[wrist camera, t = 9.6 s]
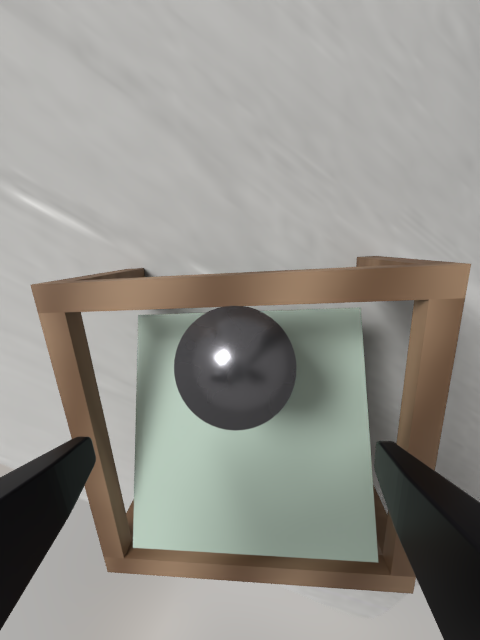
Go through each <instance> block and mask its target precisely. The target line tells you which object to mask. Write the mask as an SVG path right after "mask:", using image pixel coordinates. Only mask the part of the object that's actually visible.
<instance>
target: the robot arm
mask: <svg viewBox="0 0 480 640" xmlns="http://www.w3.org/2000/svg"><path fill="white" fill-rule="evenodd" d="M95 462H96V455H95V450H94V446H93V442H92V439H91V438H90V437H82V436H79V437H75V438H73V439H71V440H70V441H68V442H66V443H64V444H62V445H60V446H58V447H57V448H55V449H53V450H51V451H49V452H47V453H45V454H43V455H42V456H40V457H38V458H36V459H34V460H32V461H30V462H28V463H27V464H25V465H23V466H21V467H19V468H17V469H15V470H14V471H12V472H10V473H8V474H6V475H4V476H2V477H0V630H1V628H2V627H3V625H4V623H5V622H6V620H7V618H8V616H9V615H10V613H11V612H12V610H13V608H14V607H15V605H16V603H17V602H18V600H19V599H20V597H21V595H22V594H23V592H24V590H25V589H26V587H27V585H28V584H29V582H30V580H31V579H32V577H33V575H34V574H35V572H36V570H37V569H38V567H39V565H40V564H41V562H42V560H43V559H44V557H45V555H46V554H47V552H48V550H49V549H50V547H51V545H52V544H53V542H54V540H55V539H56V537H57V535H58V533H59V532H60V530H61V529H62V527H63V525H64V524H65V522H66V520H67V519H68V517H69V515H70V513H71V511H72V509H73V507H74V505H75V503H76V502H77V500H78V498H79V496H80V494H81V492H82V490H83V488H84V486H85V483H86V481H87V479H88V477H89V475H90V473H91V471H92V469H93V467H94V465H95ZM374 466H375V472H376V475H377V478H378V481H379V484H380V487H381V490H382V493H383V496H384V498H385V501H386V504H387V507H388V510H389V513H390V516H391V519H392V522H393V525H394V527H395V530H396V533H397V535H398V537H399V540H400V542H401V544H402V547H403V549H404V551H405V553H406V556H407V558H408V560H409V562H410V565H411V567H412V569H413V571H414V574H415V576H416V578H417V580H418V582H419V585H420V587H421V589H422V591H423V594H424V596H425V598H426V600H427V603H428V605H429V607H430V609H431V611H432V614H433V616H434V618H435V621H436V623H437V625H438V627H439V629H440V632H441V634H442V636H443V638H444V640H480V502H478V501H477V500H475V499H474V498H473V497H471V496H470V495H468V494H467V493H465V492H464V491H463V490H461V489H460V488H458V487H457V486H455V485H454V484H453V483H451V482H450V481H448V480H447V479H446V478H444V477H443V476H441V475H440V474H438V473H437V472H436V471H434V470H433V469H431V468H430V467H428V466H427V465H426V464H424V463H423V462H421V461H420V460H418V459H417V458H416V457H414V456H413V455H411V454H410V453H409V452H407V451H406V450H404V449H403V448H401V447H400V446H399V445H397V444H396V443H394V442H392V441H379V442H377V444H376V452H375V462H374Z"/></svg>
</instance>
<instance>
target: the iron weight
mask: <svg viewBox="0 0 480 640" xmlns="http://www.w3.org/2000/svg"><path fill="white" fill-rule="evenodd" d="M296 369H297V365H296V357H295V353H294V349H293V346H292V344H291V341H290V340H289V338H288V336H287V334H286V333H285V331H284V330H283V329H282V328H281V326H280V325H279V324H278V323H277V322H276V321H274V320H273V319H272V318H271V317H269V316H268V315H266V314H264V313H263V312H260V311H258V310H256V309H253V308H249V307H244V306H225V307H220V308H217V309H214V310H211V311H209V312H207V313H205V314H203V315H202V316H200V317H199V318H198V319H196V320H195V321H194V322H193V323H192V324H191V325H190V326H189V327H188V329H187V330H186V331H185V333H184V334H183V336H182V338H181V340H180V342H179V344H178V347H177V350H176V354H175V359H174V376H175V381H176V385H177V388H178V391H179V393H180V395H181V398H182V399H183V401H184V402H185V404H186V406H187V407H188V408H189V409H190V410H191V411H192V412H193V413H194V414H195V415H196V416H197V417H198V418H200V419H201V420H203V421H204V422H206V423H208V424H210V425H212V426H214V427H217V428H220V429H225V430H234V431H237V430H246V429H251V428H254V427H257V426H260V425H262V424H264V423H266V422H267V421H269V420H270V419H272V418H273V417H274V416H275V415H277V414H278V413H279V412H280V411H281V409H282V408H283V407H284V406H285V404H286V403H287V401H288V400H289V398H290V396H291V393H292V391H293V388H294V385H295V380H296Z"/></svg>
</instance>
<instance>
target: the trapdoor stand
mask: <svg viewBox="0 0 480 640" xmlns="http://www.w3.org/2000/svg"><path fill="white" fill-rule="evenodd" d="M470 267H471V264H466V263H454V262H442V261H430V260H418V259H406V258H394V257H382V256H369V257H357V265H356V267H347V268H326V269H306V270H285V271H264V272H243V273H223V274H202V275H181V276H161V277H145V274H144V268H138V269H124V270H118V271H112V272H106V273H100V274H94V275H88V276H82V277H75V278H69V279H63V280H57V281H51V282H45V283H39V284H33V285H31V289H32V292H33V296H34V300H35V303H36V307H37V311H38V315H39V318H40V322H41V326H42V329H43V333H44V337H45V341H46V344H47V348H48V352H49V355H50V359H51V363H52V367H53V370H54V374H55V378H56V381H57V385H58V389H59V393H60V396H61V400H62V404H63V407H64V411H65V415H66V419H67V422H68V426H69V430H70V433H71V437H72V439H73V438H75V437H79V436H82V437H90V438H91V439H92V442H93V446H94V450H95V455H96V462H95V465H94V467H93V469H92V471H91V473H90V475H89V477H88V479H87V481H86V483H85V489H86V493H87V497H88V500H89V504H90V508H91V511H92V515H93V518H94V522H95V526H96V530H97V534H98V537H99V541H100V545H101V549H102V552H103V556H104V560H105V563H106V566H107V571H108V572H115V573H130V574H143V575H157V576H172V577H186V578H200V579H214V580H228V581H242V582H257V583H271V584H285V585H299V586H313V587H328V588H342V589H356V590H370V591H384V592H398V593H413V590H414V585H415V579H416V576H415V574H414V571H413V569H412V567H411V565H410V562H409V560H408V558H407V556H406V553H405V551H404V549H403V547H402V544H401V542H400V540H399V537H398V535H397V533H396V530H395V527H394V525H393V522H392V519H391V516H390V513H389V510H388V515H387V513H386V511H385V509H384V507H383V505H382V502H381V500H380V498H379V496H378V494H377V492H376V489H375V487H374V485H373V492H374V506H375V521H376V535H377V549H378V562H363V561H346V560H329V559H313V558H296V557H279V556H263V555H246V554H229V553H213V552H196V551H180V550H163V549H146V548H133V519H134V499H133V501H132V503H131V505H130V507H129V509H128V511H127V513H126V512H125V507H124V503H123V498H122V494H121V490H120V485H119V481H118V476H117V472H116V467H115V463H114V458H113V454H112V449H111V445H110V440H109V436H108V432H107V427H106V423H105V418H104V414H103V409H102V405H101V400H100V396H99V391H98V387H97V383H96V378H95V374H94V369H93V365H92V360H91V356H90V351H89V347H88V342H87V338H86V334H85V329H84V325H83V320H82V316H81V312H90V311H118V310H146V309H174V308H203V307H225V306H259V305H288V304H316V303H344V302H372V301H401V300H414V307H413V315H412V323H411V331H410V339H409V347H408V355H407V363H406V371H405V379H404V387H403V395H402V403H401V412H400V420H399V428H398V436H397V445H399V446H400V447H401V448H403V449H404V450H406V451H407V452H409V453H410V454H411V455H413V456H414V457H416V458H417V459H418V460H420V461H421V462H423V463H424V464H426V465H427V466H428V467H430V468H431V469H433V470H434V471H435V466H436V460H437V454H438V449H439V443H440V437H441V432H442V426H443V420H444V414H445V409H446V403H447V397H448V392H449V386H450V380H451V375H452V369H453V363H454V358H455V352H456V346H457V341H458V335H459V329H460V324H461V318H462V312H463V307H464V301H465V295H466V290H467V284H468V278H469V273H470Z"/></svg>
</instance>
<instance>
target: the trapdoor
mask: <svg viewBox="0 0 480 640" xmlns="http://www.w3.org/2000/svg"><path fill="white" fill-rule="evenodd" d="M260 312H263V313H264V314H266V315H268V316H269V317H271V318H272V319H273V320H274V321H276V322H277V323H278V324H279V325H280V326H281V328H282V329H283V330H284V331H285V333H286V334H287V336H288V338H289V340H290V341H291V344H292V346H293V349H294V353H295V357H296V365H297V369H296V380H295V385H294V388H293V391H292V393H291V396H290V398H289V400H288V401H287V403H286V404H285V406H284V407H283V408H282V409H281V411H280V412H279V413H278V414H277V415H275V416H274V417H273V418H272V419H270V420H269V421H267V422H266V423H264V424H262V425H260V426H257V427H254V428H251V429H246V430H237V431H234V430H225V429H220V428H217V427H214V426H212V425H210V424H208V423H206V422H204V421H203V420H201V419H200V418H198V417H197V416H196V415H195V414H194V413H193V412H192V411H191V410H190V409H189V408H188V407H187V406H186V404H185V402H184V401H183V399H182V398H181V395H180V393H179V391H178V388H177V385H176V381H175V376H174V359H175V354H176V350H177V347H178V344H179V342H180V340H181V338H182V336H183V334H184V333H185V331H186V330H187V329H188V327H189V326H190V325H191V324H192V323H193V322H194V321H195V320H196V319H198V318H199V317H200V316H202V315H203V314H205V313H188V314H158V315H138V348H137V391H136V434H135V476H134V519H133V548H146V549H163V550H180V551H196V552H213V553H229V554H246V555H263V556H279V557H296V558H313V559H329V560H346V561H363V562H378V549H377V535H376V521H375V506H374V492H373V478H372V463H371V449H370V435H369V421H368V406H367V392H366V378H365V363H364V349H363V335H362V320H361V308H338V309H308V310H278V311H260Z"/></svg>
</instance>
